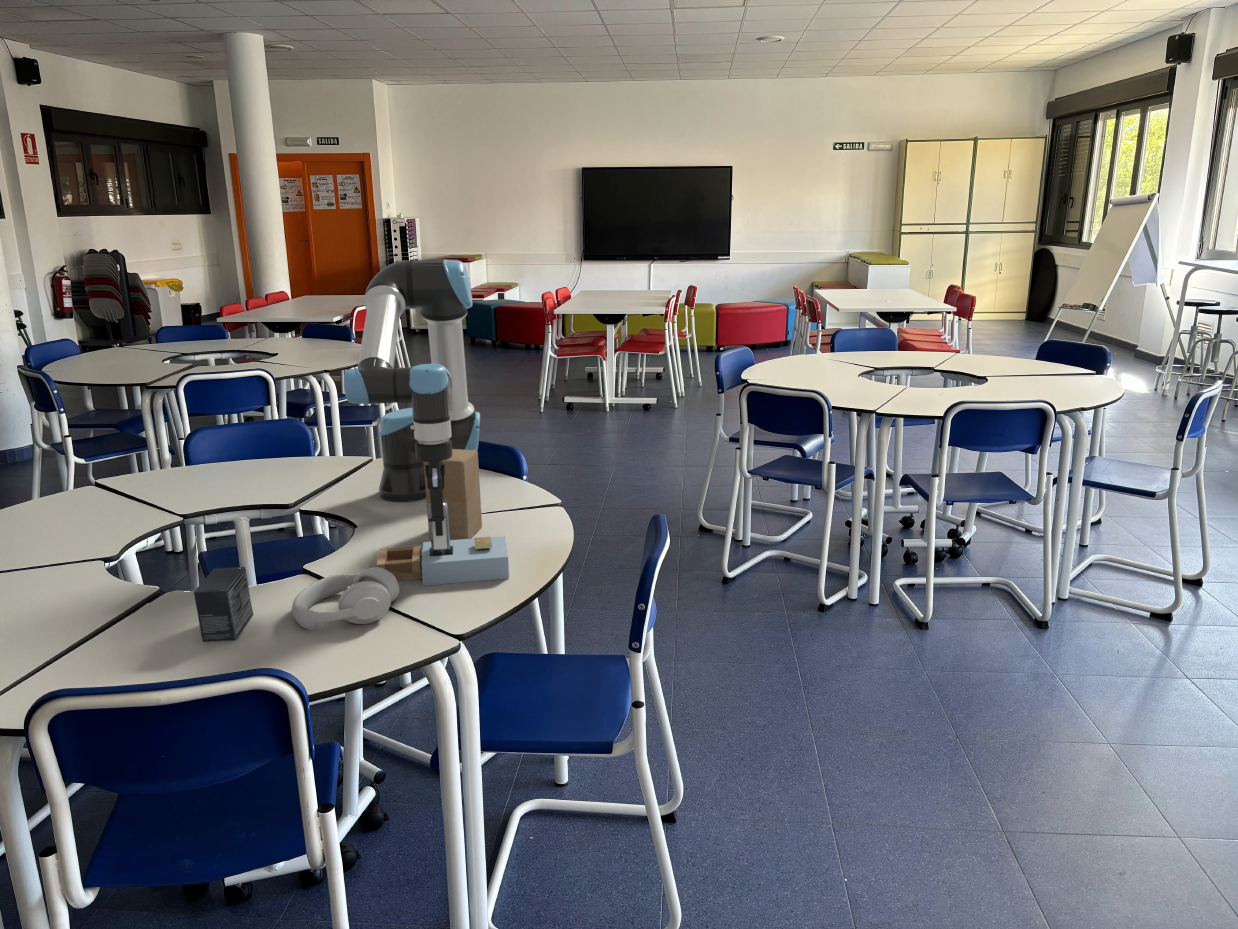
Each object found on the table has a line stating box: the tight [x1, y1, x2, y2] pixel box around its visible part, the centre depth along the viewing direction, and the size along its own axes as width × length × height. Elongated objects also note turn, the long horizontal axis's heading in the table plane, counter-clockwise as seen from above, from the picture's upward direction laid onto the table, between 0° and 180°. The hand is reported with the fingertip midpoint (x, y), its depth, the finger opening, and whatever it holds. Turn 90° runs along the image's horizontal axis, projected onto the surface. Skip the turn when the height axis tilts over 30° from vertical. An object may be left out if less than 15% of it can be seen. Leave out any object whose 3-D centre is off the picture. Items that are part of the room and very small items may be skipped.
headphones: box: [291, 566, 400, 630], centre depth 170 cm, size 18×8×20 cm
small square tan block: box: [474, 536, 492, 551], centre depth 189 cm, size 4×4×6 cm
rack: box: [375, 545, 423, 582], centre depth 188 cm, size 9×9×4 cm
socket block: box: [421, 535, 510, 586], centre depth 189 cm, size 12×18×5 cm, turn 101°
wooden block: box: [424, 449, 483, 540], centre depth 208 cm, size 10×10×20 cm
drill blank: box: [428, 500, 451, 556], centre depth 186 cm, size 4×4×16 cm
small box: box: [193, 566, 254, 643], centre depth 163 cm, size 11×6×10 cm, turn 5°
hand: (440, 544), depth 187 cm, fingers closed on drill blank, 4 cm apart
